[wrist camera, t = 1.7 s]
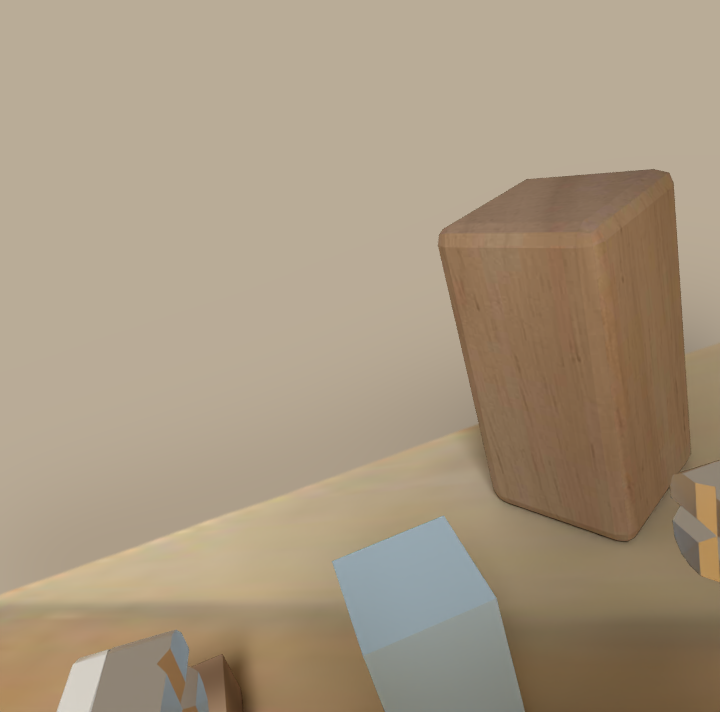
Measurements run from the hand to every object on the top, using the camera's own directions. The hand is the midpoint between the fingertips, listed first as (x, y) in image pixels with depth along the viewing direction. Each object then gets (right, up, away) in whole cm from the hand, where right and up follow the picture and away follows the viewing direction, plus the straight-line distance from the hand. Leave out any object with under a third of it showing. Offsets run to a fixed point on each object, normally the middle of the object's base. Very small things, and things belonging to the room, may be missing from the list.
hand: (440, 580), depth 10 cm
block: (+15, -5, +34) cm, 37 cm away
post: (+4, -15, +19) cm, 25 cm away
